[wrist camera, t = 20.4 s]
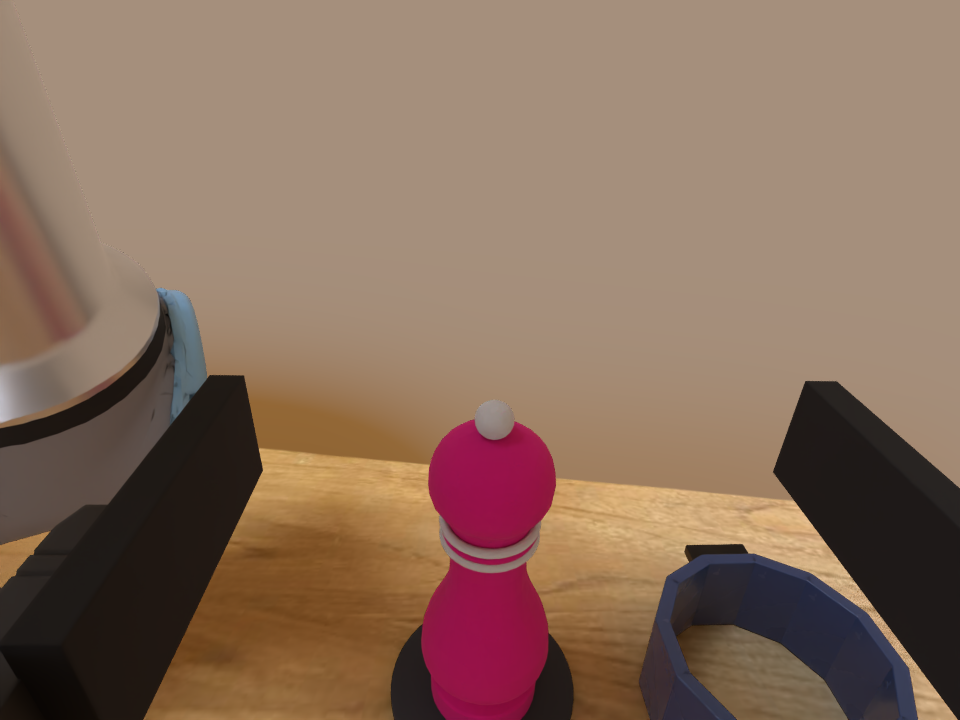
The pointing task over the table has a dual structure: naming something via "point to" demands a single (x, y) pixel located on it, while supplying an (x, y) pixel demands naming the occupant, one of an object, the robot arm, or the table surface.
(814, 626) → the pot
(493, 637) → the pepper mill
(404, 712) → the coaster
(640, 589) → the table surface
